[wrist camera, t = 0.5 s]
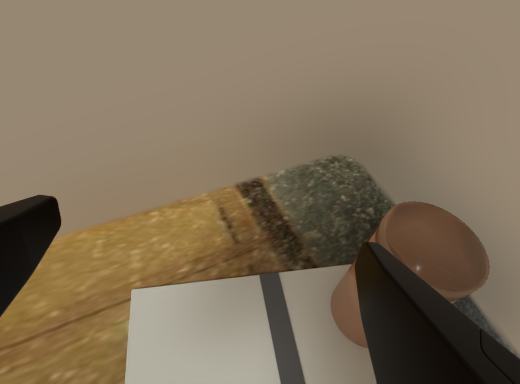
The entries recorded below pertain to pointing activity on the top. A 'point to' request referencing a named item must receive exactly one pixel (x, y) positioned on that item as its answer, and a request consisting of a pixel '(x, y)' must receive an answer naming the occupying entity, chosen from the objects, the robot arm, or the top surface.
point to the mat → (244, 332)
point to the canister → (418, 259)
